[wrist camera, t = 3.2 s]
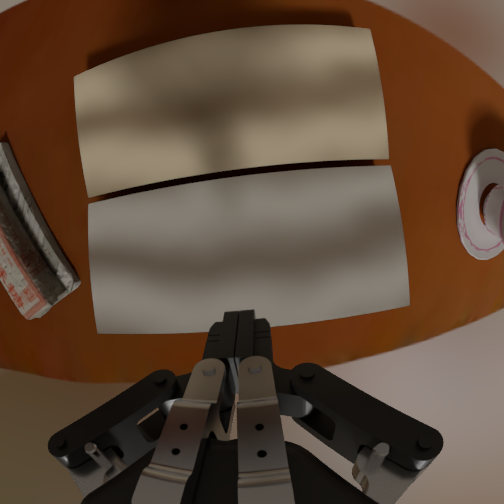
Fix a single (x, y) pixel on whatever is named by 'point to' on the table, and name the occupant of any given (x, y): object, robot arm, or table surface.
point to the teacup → (494, 208)
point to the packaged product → (28, 247)
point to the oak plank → (230, 105)
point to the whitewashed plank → (248, 251)
